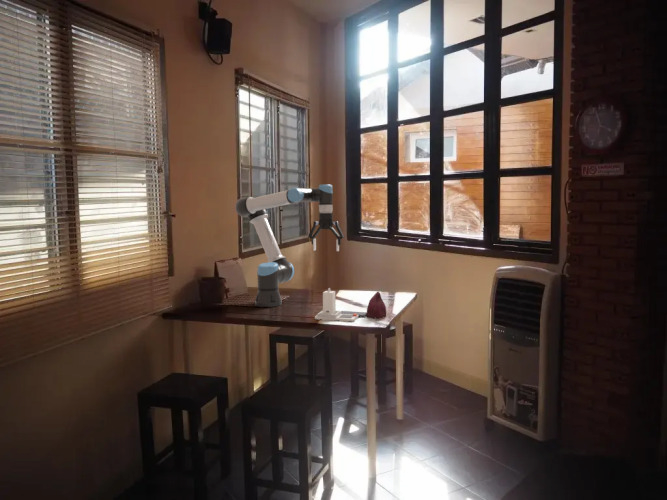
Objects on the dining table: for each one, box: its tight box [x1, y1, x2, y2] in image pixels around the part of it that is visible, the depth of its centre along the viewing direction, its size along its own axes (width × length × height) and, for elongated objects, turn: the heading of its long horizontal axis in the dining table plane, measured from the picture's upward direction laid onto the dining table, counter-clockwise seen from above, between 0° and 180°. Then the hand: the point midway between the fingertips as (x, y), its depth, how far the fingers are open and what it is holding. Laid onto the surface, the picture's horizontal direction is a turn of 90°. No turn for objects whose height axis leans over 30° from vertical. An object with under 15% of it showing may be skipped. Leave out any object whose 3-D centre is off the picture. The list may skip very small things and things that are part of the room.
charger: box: [322, 287, 337, 315], centre depth 257 cm, size 5×5×14 cm
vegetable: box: [366, 291, 387, 319], centre depth 259 cm, size 10×10×15 cm
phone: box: [340, 310, 367, 318], centre depth 263 cm, size 7×14×1 cm, turn 73°
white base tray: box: [314, 309, 360, 322], centre depth 256 cm, size 20×10×3 cm, turn 73°
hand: (326, 250), depth 285 cm, fingers open, 13 cm apart
